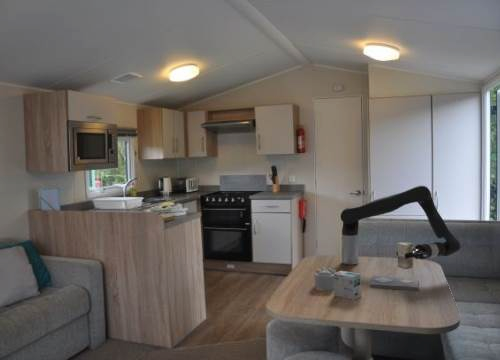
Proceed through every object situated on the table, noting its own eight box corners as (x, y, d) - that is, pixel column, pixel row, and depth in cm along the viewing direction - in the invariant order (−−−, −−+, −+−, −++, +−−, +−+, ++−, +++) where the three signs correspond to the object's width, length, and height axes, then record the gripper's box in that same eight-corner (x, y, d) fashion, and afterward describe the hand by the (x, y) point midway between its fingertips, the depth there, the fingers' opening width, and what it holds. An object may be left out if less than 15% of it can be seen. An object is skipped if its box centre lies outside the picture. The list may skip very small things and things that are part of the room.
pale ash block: (405, 269, 208) (405, 245, 208) (397, 266, 213) (397, 243, 212) (412, 267, 211) (413, 243, 210) (405, 265, 215) (405, 241, 214)
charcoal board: (370, 287, 210) (370, 283, 210) (372, 277, 225) (372, 274, 225) (418, 290, 203) (418, 286, 203) (417, 280, 218) (417, 277, 218)
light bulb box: (361, 296, 197) (361, 273, 197) (354, 300, 192) (353, 277, 192) (341, 292, 205) (340, 269, 204) (333, 295, 200) (333, 273, 199)
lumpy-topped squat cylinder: (313, 289, 209) (313, 272, 209) (317, 281, 222) (317, 265, 221) (335, 291, 206) (334, 273, 206) (338, 283, 219) (337, 266, 218)
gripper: (415, 240, 223) (390, 244, 216) (438, 246, 211) (412, 250, 203) (415, 255, 224) (390, 259, 217) (438, 261, 211) (412, 265, 204)
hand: (401, 254), depth 210 cm, fingers closed on pale ash block, 5 cm apart
